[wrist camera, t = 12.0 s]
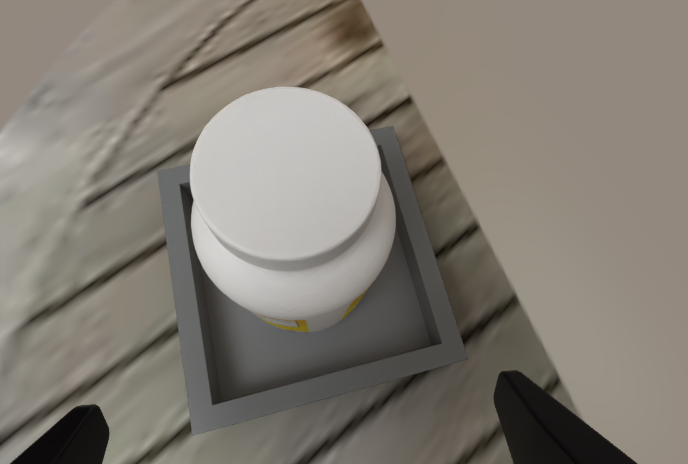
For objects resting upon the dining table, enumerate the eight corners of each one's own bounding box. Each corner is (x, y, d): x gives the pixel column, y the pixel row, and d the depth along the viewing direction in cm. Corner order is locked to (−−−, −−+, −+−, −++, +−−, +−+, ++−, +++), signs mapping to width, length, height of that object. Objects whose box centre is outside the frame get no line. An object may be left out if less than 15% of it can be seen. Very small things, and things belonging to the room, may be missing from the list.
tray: (451, 358, 22) (468, 359, 19) (207, 426, 20) (192, 435, 18) (385, 147, 25) (393, 126, 23) (173, 189, 24) (157, 170, 21)
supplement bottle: (345, 201, 23) (378, 31, 11) (380, 313, 22) (466, 258, 9) (230, 231, 22) (127, 80, 10) (257, 350, 21) (172, 342, 8)
